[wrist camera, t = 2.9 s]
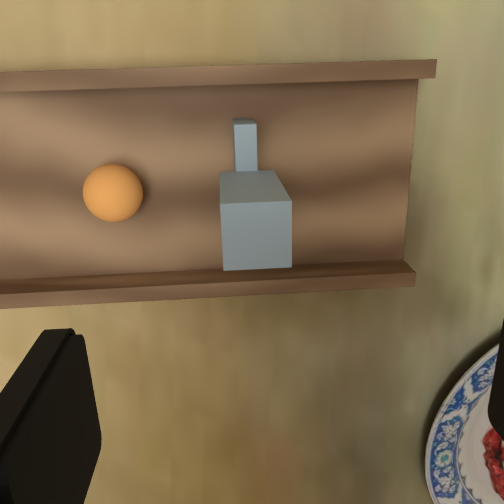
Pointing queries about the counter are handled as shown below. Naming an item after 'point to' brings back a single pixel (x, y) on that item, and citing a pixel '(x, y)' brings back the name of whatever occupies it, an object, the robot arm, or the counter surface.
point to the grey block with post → (253, 209)
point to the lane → (203, 178)
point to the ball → (112, 193)
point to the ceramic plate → (466, 442)
